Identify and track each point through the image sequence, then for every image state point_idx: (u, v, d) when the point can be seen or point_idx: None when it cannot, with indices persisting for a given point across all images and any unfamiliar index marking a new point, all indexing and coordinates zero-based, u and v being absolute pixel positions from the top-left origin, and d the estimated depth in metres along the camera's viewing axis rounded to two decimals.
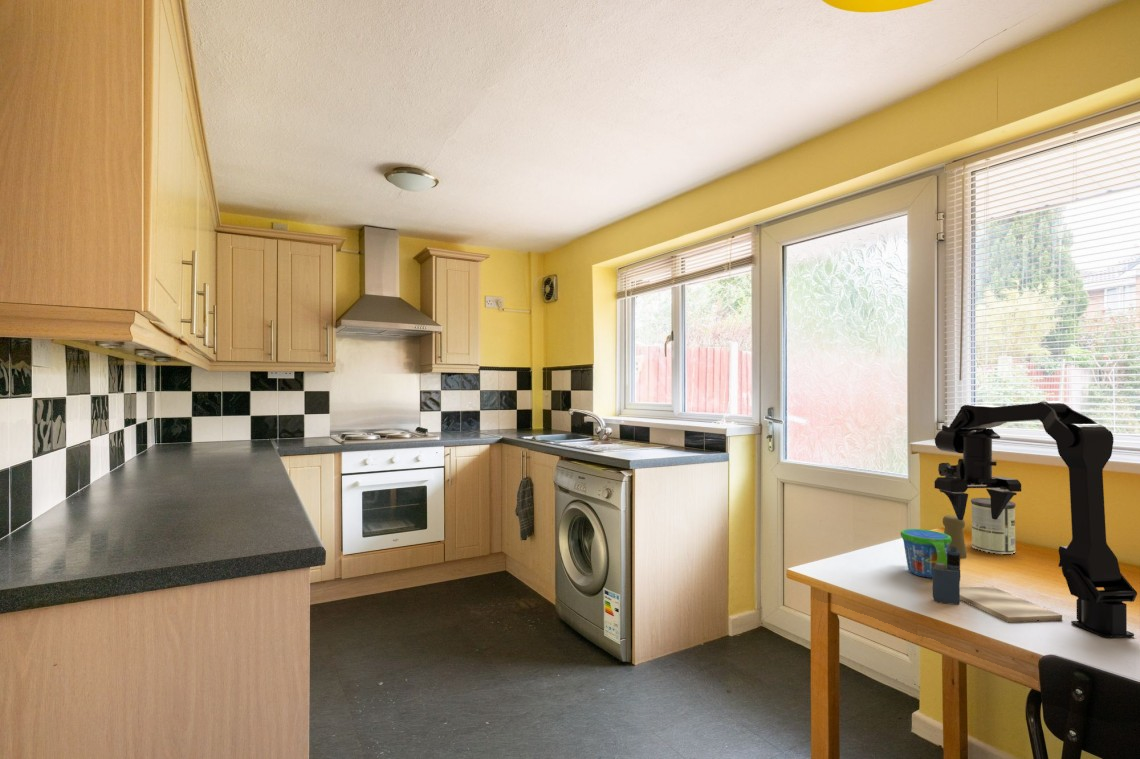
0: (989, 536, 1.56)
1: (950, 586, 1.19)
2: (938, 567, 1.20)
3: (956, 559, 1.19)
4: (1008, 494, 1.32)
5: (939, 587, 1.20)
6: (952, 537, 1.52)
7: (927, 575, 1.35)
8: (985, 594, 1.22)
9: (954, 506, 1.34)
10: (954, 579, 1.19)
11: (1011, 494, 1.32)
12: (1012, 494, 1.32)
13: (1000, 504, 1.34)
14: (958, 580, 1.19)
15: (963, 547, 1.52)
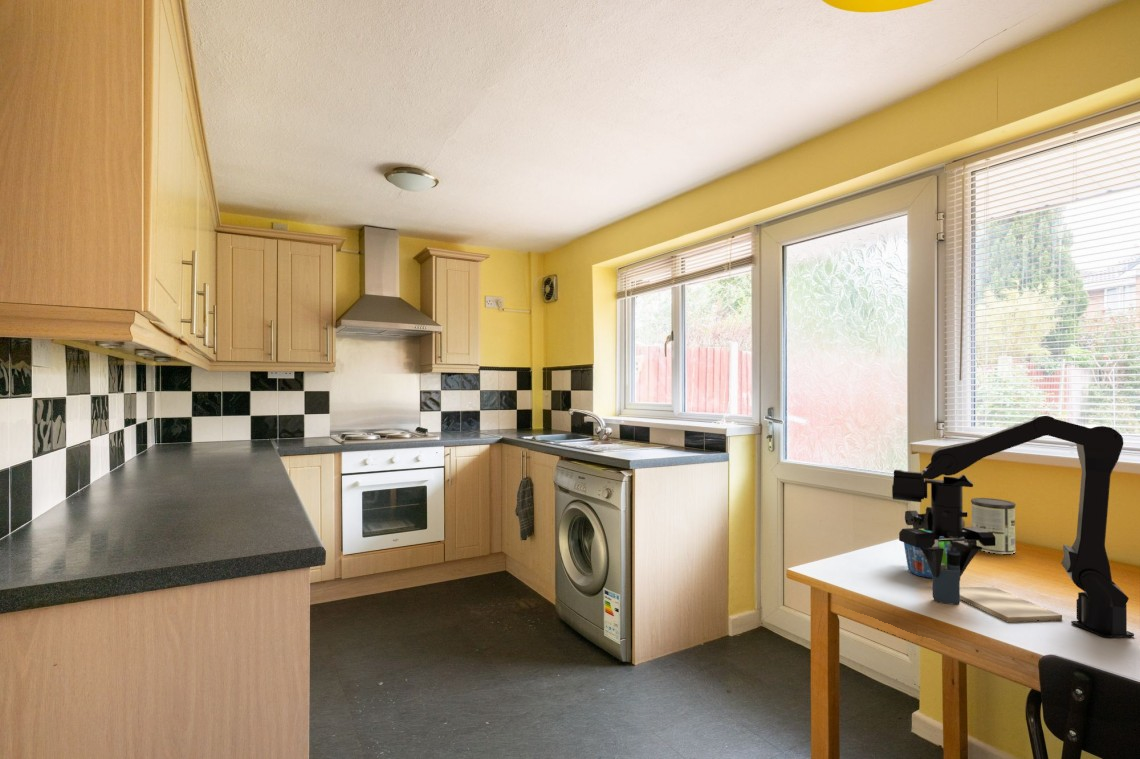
0: None
1: (950, 586, 1.19)
2: None
3: (956, 559, 1.19)
4: (972, 549, 1.18)
5: (939, 587, 1.20)
6: None
7: (927, 575, 1.35)
8: (985, 594, 1.22)
9: (929, 561, 1.20)
10: (954, 579, 1.19)
11: (976, 549, 1.18)
12: (977, 549, 1.18)
13: (964, 560, 1.19)
14: (958, 580, 1.19)
15: None
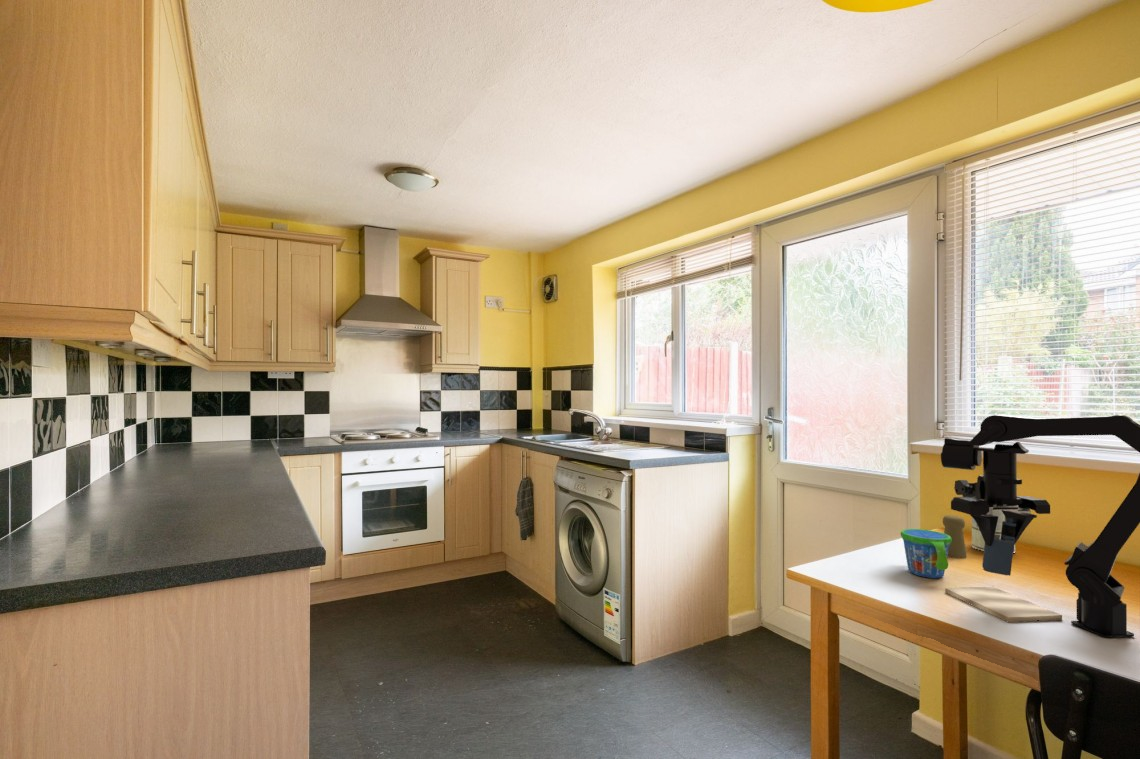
0: None
1: (1002, 556, 1.17)
2: None
3: (1012, 530, 1.17)
4: (1027, 517, 1.16)
5: (990, 557, 1.18)
6: (952, 537, 1.52)
7: (927, 575, 1.35)
8: (985, 594, 1.22)
9: (982, 529, 1.18)
10: (1007, 550, 1.17)
11: (1031, 517, 1.16)
12: (1032, 517, 1.16)
13: (1018, 528, 1.17)
14: (1011, 551, 1.17)
15: (963, 547, 1.52)
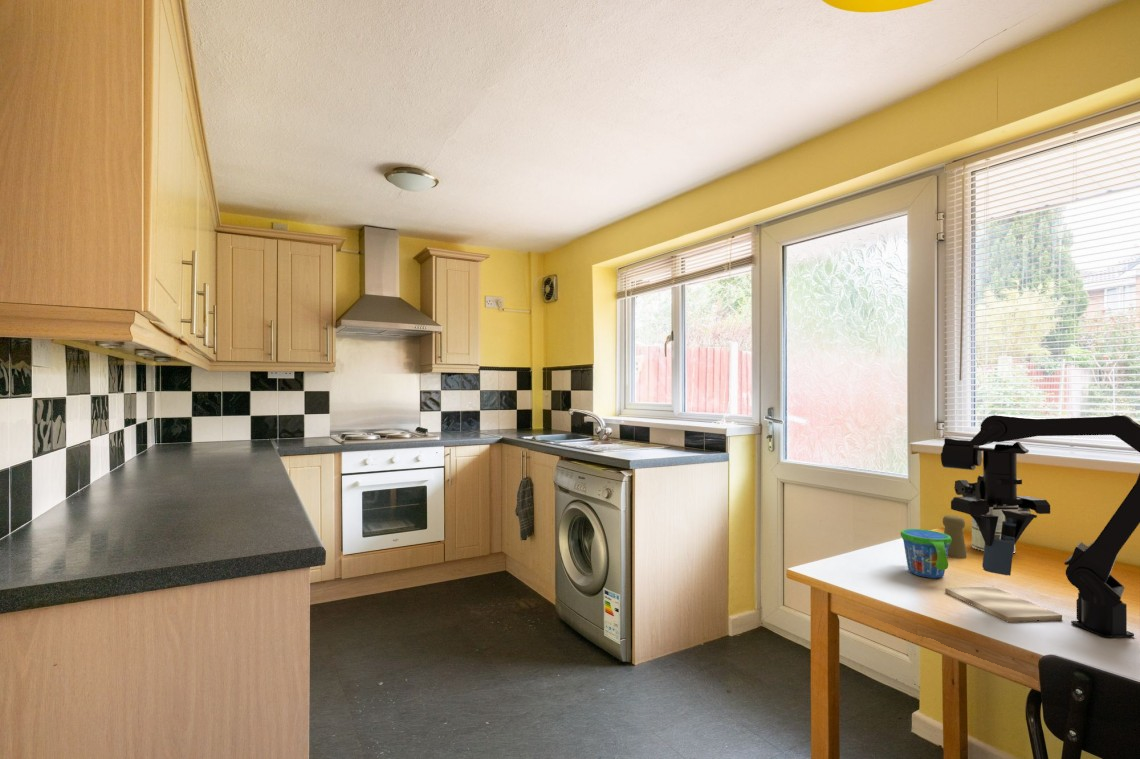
0: None
1: (1002, 556, 1.17)
2: None
3: (1012, 530, 1.17)
4: (1027, 517, 1.16)
5: (990, 557, 1.18)
6: (952, 537, 1.52)
7: (927, 575, 1.35)
8: (985, 594, 1.22)
9: (982, 529, 1.18)
10: (1007, 550, 1.17)
11: (1031, 517, 1.16)
12: (1032, 517, 1.16)
13: (1018, 528, 1.17)
14: (1011, 551, 1.17)
15: (963, 547, 1.52)
